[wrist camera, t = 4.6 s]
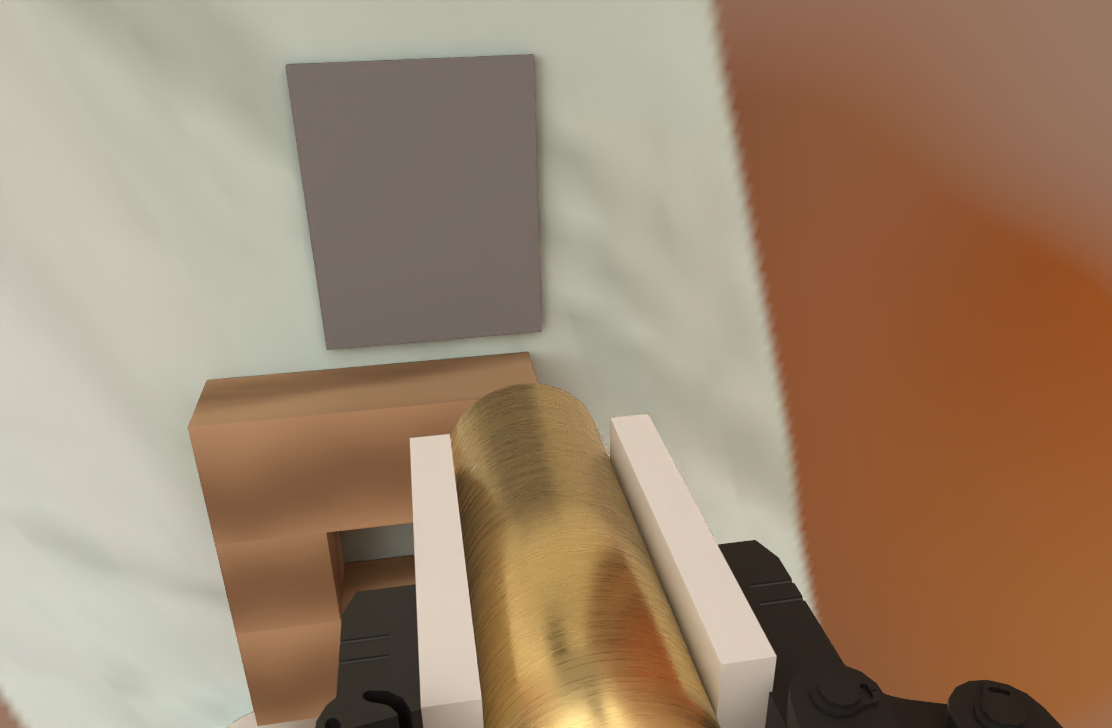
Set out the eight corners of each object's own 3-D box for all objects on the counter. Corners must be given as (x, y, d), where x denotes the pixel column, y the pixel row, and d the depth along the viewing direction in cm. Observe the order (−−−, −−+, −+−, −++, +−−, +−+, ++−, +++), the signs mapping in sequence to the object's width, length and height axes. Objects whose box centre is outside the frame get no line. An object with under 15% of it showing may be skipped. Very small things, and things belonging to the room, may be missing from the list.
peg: (443, 391, 18) (521, 1075, 7) (598, 376, 18) (888, 999, 8) (453, 520, 19) (533, 1251, 9) (598, 504, 20) (841, 1179, 9)
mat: (286, 64, 29) (285, 65, 28) (532, 54, 30) (533, 55, 29) (327, 345, 33) (326, 349, 33) (540, 327, 34) (541, 331, 34)
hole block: (206, 380, 33) (187, 427, 30) (527, 351, 35) (541, 393, 31) (267, 663, 39) (257, 726, 36) (537, 627, 41) (549, 684, 38)
